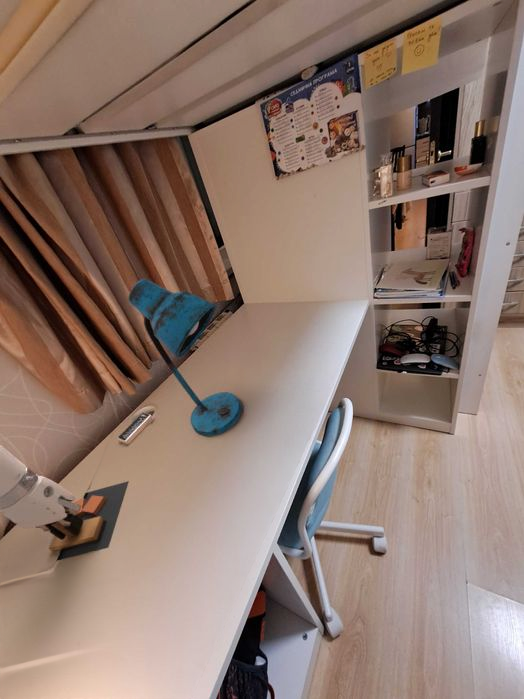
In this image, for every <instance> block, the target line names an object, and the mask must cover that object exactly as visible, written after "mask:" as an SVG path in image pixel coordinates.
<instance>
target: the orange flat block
mask: <svg viewBox="0 0 524 699" xmlns="http://www.w3.org/2000/svg"><path fill="white" fill-rule="evenodd" d="M86 502H87V501H86V500H85V499H84V498H83V497H82V498H81V499H79V500H76V501H75V502H74V503H75V504H78V505H81V508H80V510H79V512H78V513H77V514H76V516H78V517H80V516H82V515H84V513H83V512H82V510H83V508H84V507H85V505H86ZM67 515H68V514H67Z"/></svg>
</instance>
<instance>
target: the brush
mask: <svg viewBox="0 0 524 699" xmlns="http://www.w3.org/2000/svg"><path fill="white" fill-rule="evenodd" d="M66 517H67V516H66ZM66 517H65V519H66ZM106 522H107V521H105V520H104V519H103V518H102V517H101V516H99V517H95V518H92V519H88V520H84V521H83V524H82V527H81V529H80V532H79V534H78V535H77V536H74V535H73V534H71V533H70V532H69V531H67V530H66V529H64V527H65V526H64V525H62V524H61V523H59V522H58V521H56V522H53V523H50V524H51V525H52V526H54V527H55V528H56V529H58V530H59V531H61V532H62V533H64V534H65V535H66V536H65V538H64V539H62V540H60V539H59V538H57V537H56V536H54V535H53V537H52V540H51V541H50V543H49V545H48V548H47V549H48V550H50V551H52V552H54V551H59V550H60V551H59V553H60V552H61V551H65V550H69V549H73V548H77V547H80V546H84V545H88V544H92V543H96V542H99V541H100V539H101V536H102V533H103V531H104V528H105V525H106Z"/></svg>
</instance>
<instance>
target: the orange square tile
mask: <svg viewBox="0 0 524 699" xmlns="http://www.w3.org/2000/svg"><path fill="white" fill-rule="evenodd" d="M106 500H107V499H106V498H105V497H102V496H94V495H92V497H91V498H90V499H89V501H88V502H87V504H86V505H85V507H84V508H83V510H82V512H83V513H85V514H90V515H97V514H98V512H99V511H100V509H101V508H102V506H103V504H104V503H105V501H106Z"/></svg>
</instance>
